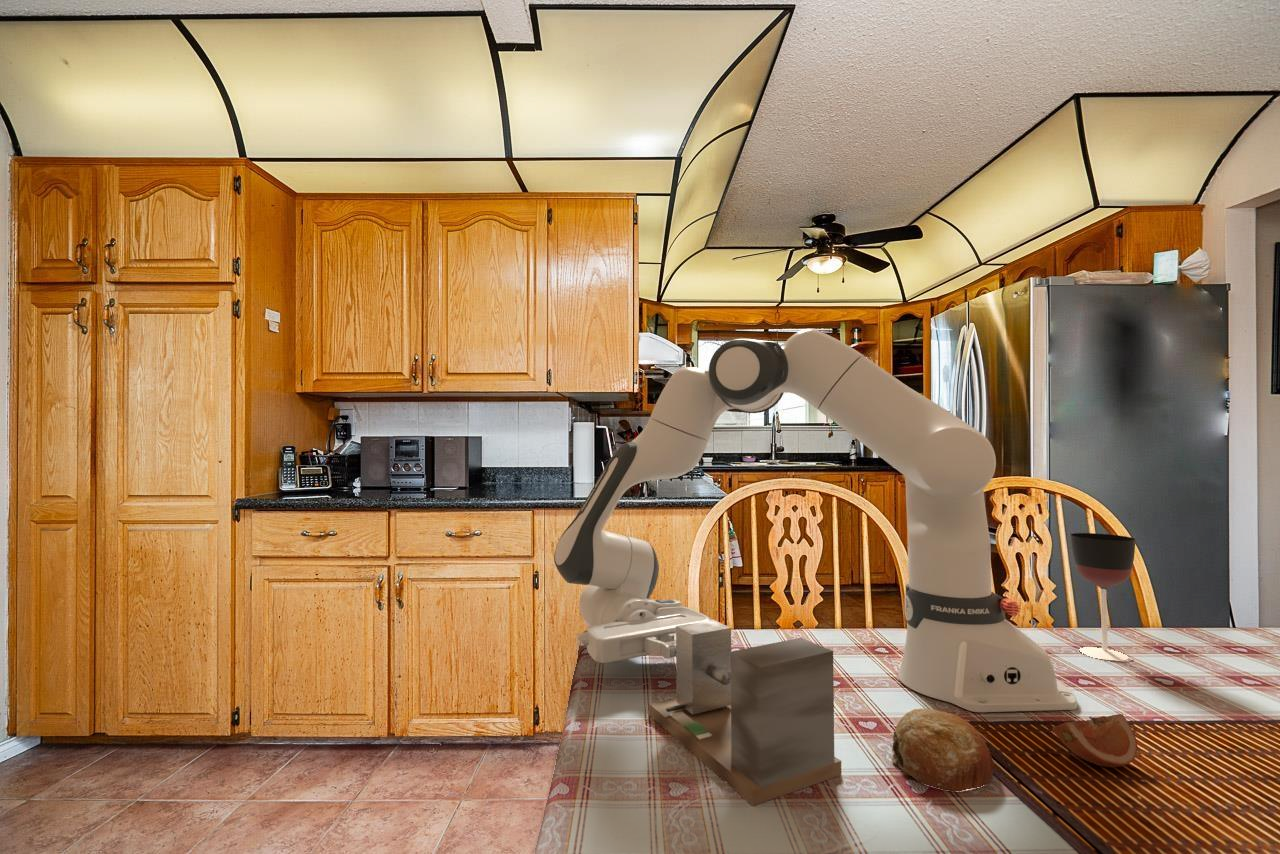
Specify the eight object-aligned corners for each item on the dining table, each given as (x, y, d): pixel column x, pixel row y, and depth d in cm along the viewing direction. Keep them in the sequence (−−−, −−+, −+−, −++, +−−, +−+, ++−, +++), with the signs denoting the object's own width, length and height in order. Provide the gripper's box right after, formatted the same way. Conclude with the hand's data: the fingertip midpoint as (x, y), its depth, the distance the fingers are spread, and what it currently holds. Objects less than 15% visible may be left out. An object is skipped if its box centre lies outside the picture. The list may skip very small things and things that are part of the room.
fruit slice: (1090, 781, 63) (1089, 734, 63) (1036, 749, 69) (1035, 706, 70) (1153, 772, 65) (1152, 726, 65) (1094, 742, 71) (1093, 700, 71)
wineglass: (1073, 643, 106) (1070, 531, 107) (1136, 652, 101) (1132, 536, 102) (1073, 655, 100) (1070, 537, 100) (1140, 667, 95) (1137, 542, 95)
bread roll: (891, 777, 70) (862, 717, 70) (964, 736, 71) (936, 676, 71) (940, 831, 60) (907, 761, 60) (1024, 783, 61) (992, 714, 61)
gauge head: (659, 706, 77) (659, 628, 77) (714, 693, 81) (713, 619, 81) (687, 729, 70) (687, 645, 71) (745, 714, 74) (745, 634, 75)
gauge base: (649, 715, 78) (649, 613, 79) (723, 697, 84) (723, 601, 84) (753, 805, 59) (751, 668, 59) (841, 774, 64) (839, 649, 64)
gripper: (573, 614, 92) (609, 640, 80) (685, 598, 101) (733, 619, 89) (573, 655, 92) (609, 687, 79) (685, 635, 101) (733, 661, 89)
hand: (675, 651), depth 84 cm, fingers closed
